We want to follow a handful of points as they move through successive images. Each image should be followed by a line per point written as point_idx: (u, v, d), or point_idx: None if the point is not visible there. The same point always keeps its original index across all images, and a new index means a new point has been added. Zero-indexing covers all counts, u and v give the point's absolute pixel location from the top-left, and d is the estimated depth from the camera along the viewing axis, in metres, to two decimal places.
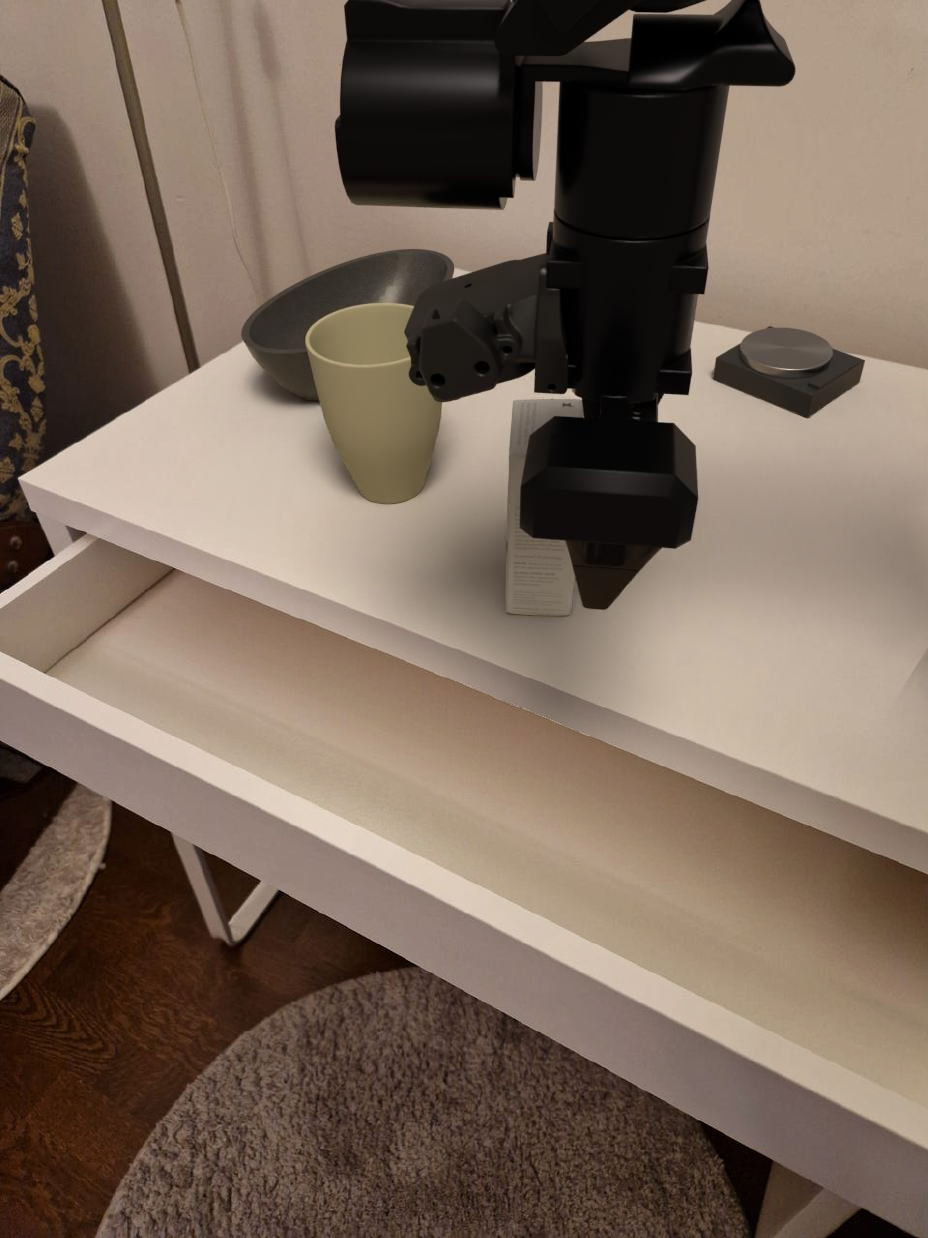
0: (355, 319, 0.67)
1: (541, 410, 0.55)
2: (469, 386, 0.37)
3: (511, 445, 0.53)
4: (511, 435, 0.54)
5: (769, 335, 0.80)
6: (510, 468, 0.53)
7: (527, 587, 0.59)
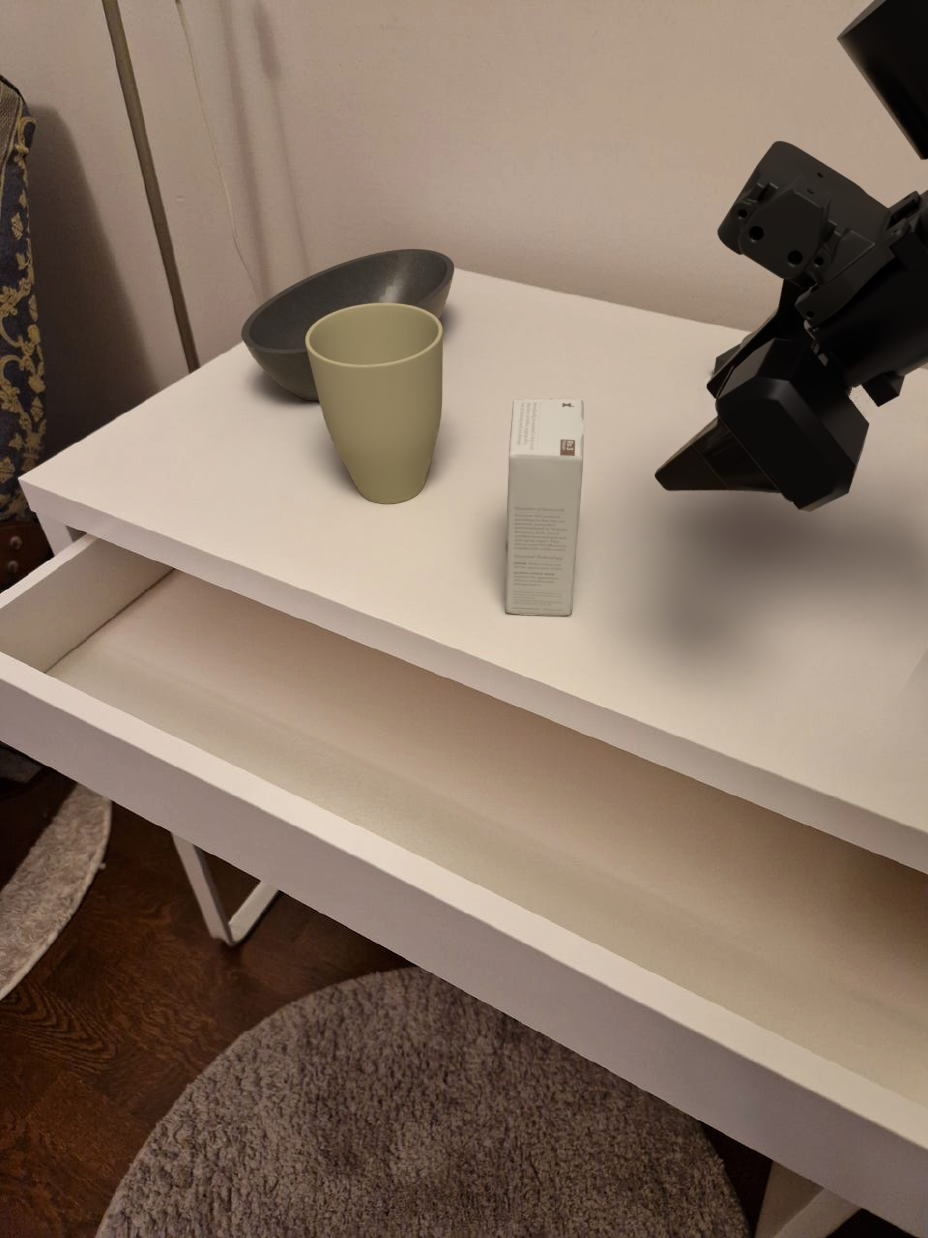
0: (355, 319, 0.67)
1: (541, 410, 0.55)
2: (770, 260, 0.39)
3: (511, 445, 0.53)
4: (511, 435, 0.54)
5: None
6: (510, 468, 0.53)
7: (527, 587, 0.59)
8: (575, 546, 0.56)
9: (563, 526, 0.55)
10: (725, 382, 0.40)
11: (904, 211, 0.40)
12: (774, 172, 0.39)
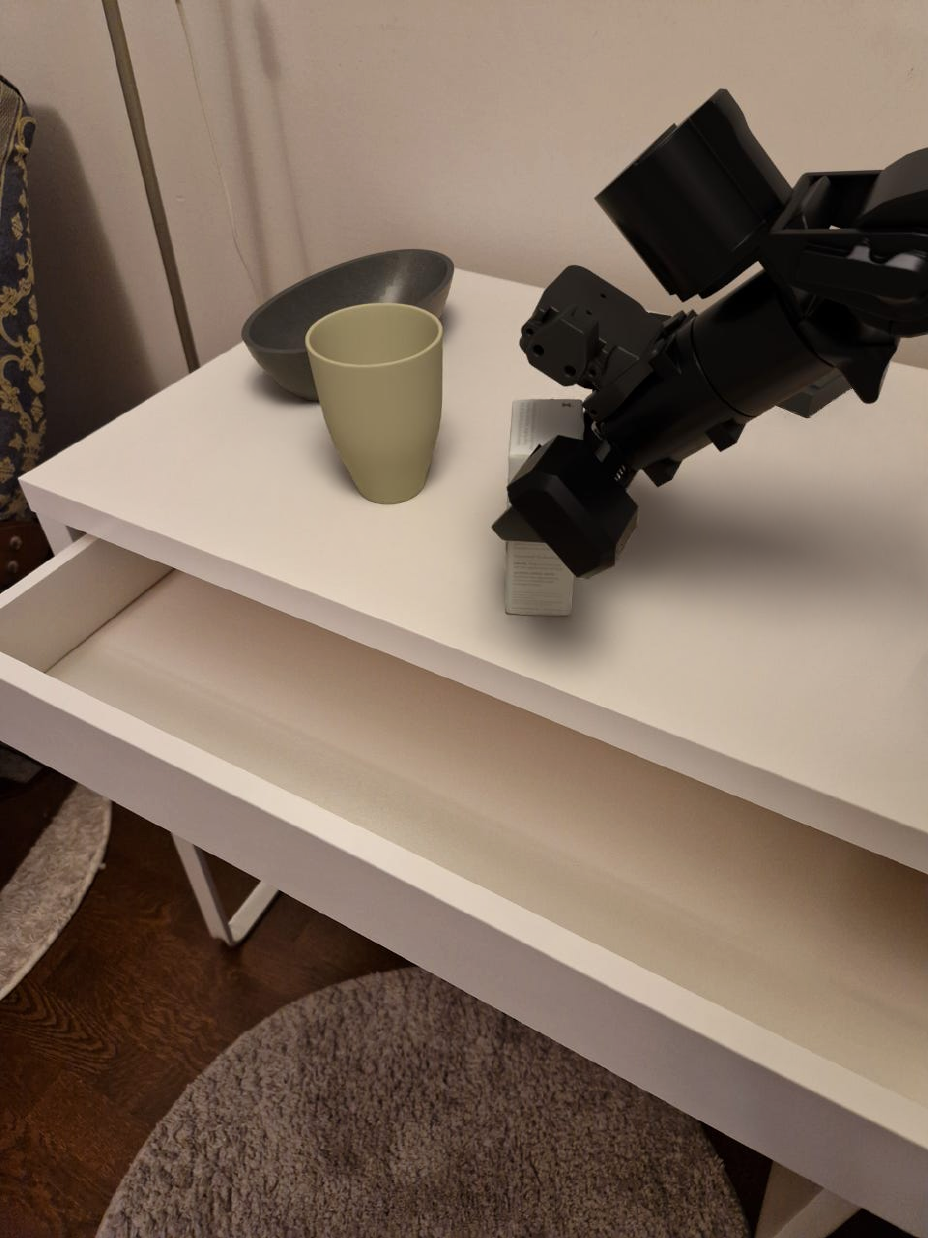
0: (355, 319, 0.67)
1: (541, 410, 0.55)
2: (552, 371, 0.47)
3: (511, 445, 0.53)
4: (511, 435, 0.54)
5: None
6: (510, 468, 0.53)
7: (527, 587, 0.59)
8: None
9: None
10: (528, 459, 0.49)
11: (671, 328, 0.48)
12: (558, 296, 0.47)
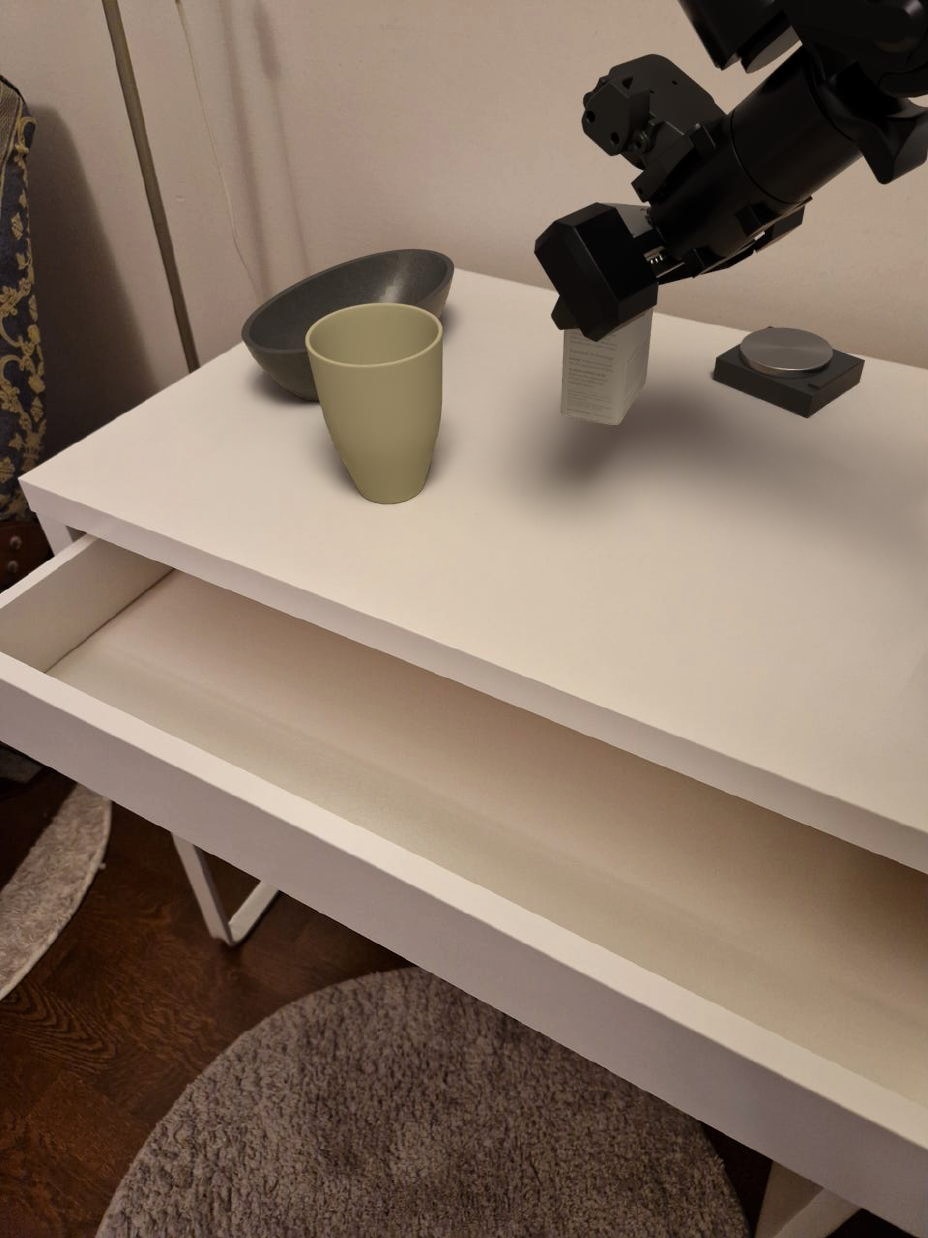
0: (355, 319, 0.67)
1: (618, 210, 0.58)
2: (600, 139, 0.50)
3: None
4: None
5: (769, 335, 0.80)
6: None
7: (580, 387, 0.62)
8: (625, 346, 0.59)
9: None
10: None
11: None
12: (625, 73, 0.50)
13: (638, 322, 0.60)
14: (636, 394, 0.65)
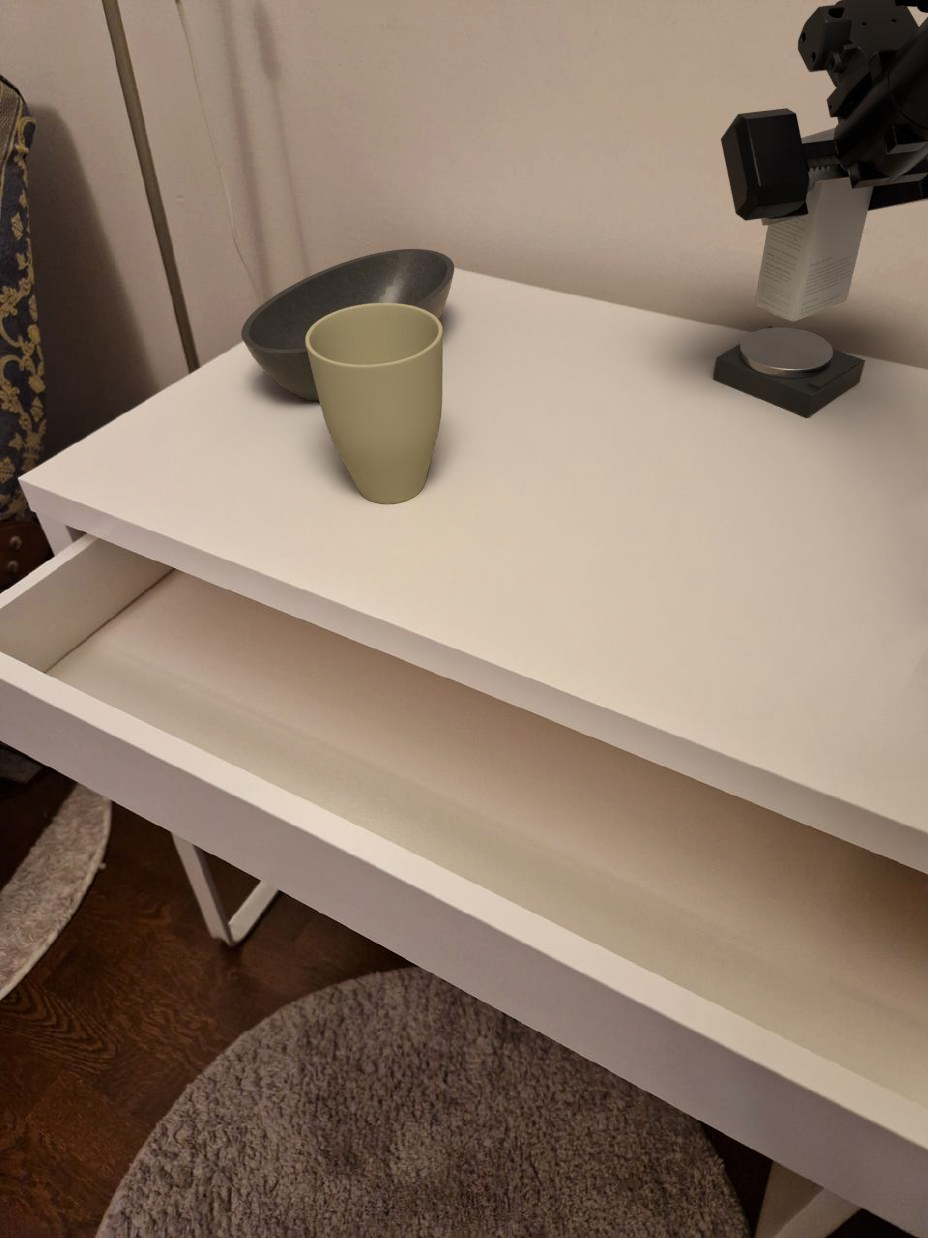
0: (355, 319, 0.67)
1: None
2: (805, 57, 0.61)
3: None
4: None
5: (769, 335, 0.80)
6: None
7: (771, 281, 0.73)
8: (808, 249, 0.69)
9: (803, 225, 0.68)
10: None
11: None
12: (850, 6, 0.60)
13: (831, 233, 0.69)
14: (827, 304, 0.74)
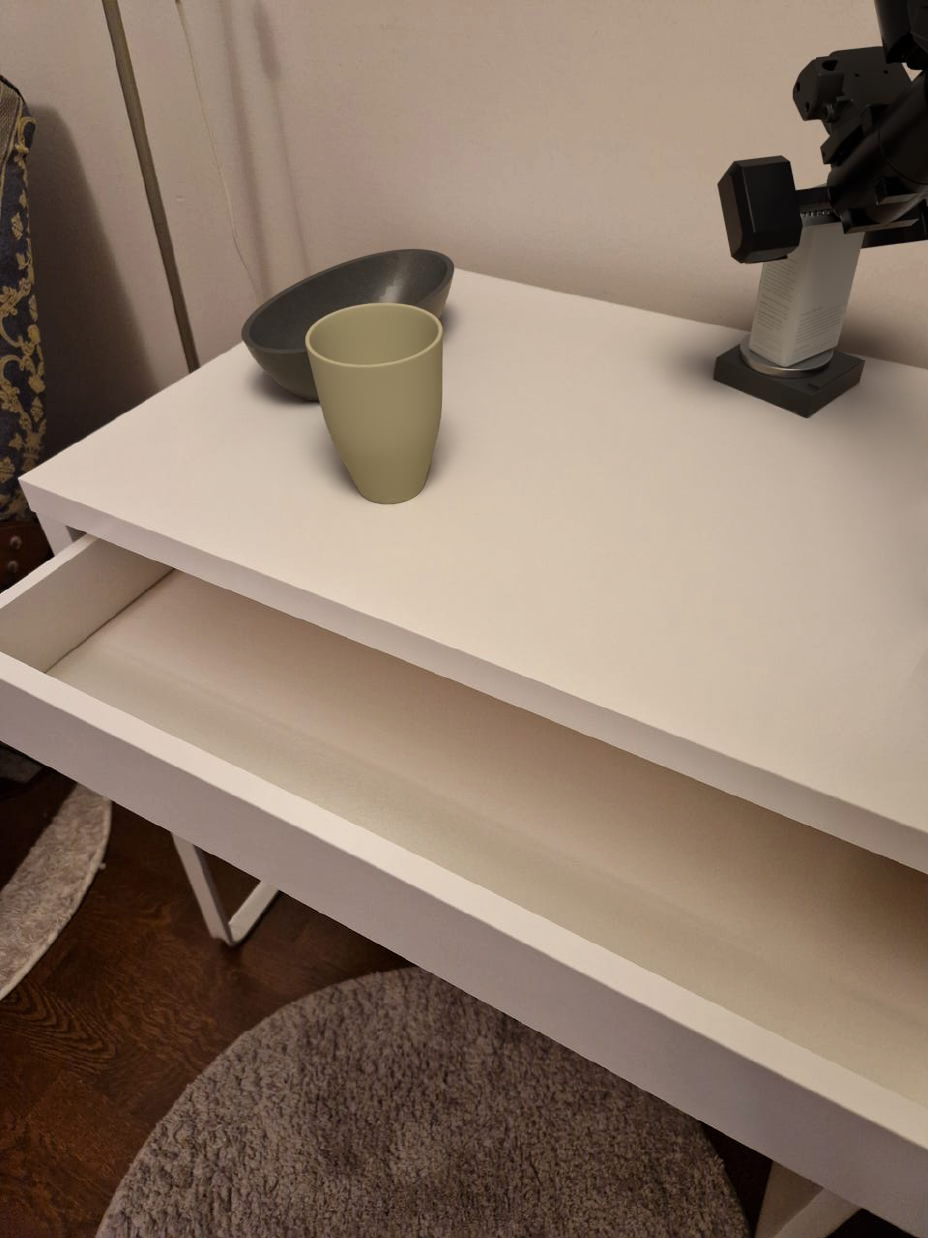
0: (355, 319, 0.67)
1: None
2: (800, 106, 0.63)
3: None
4: None
5: None
6: None
7: (764, 328, 0.76)
8: (798, 300, 0.72)
9: (794, 277, 0.71)
10: None
11: None
12: (843, 57, 0.62)
13: (821, 285, 0.72)
14: (818, 350, 0.76)
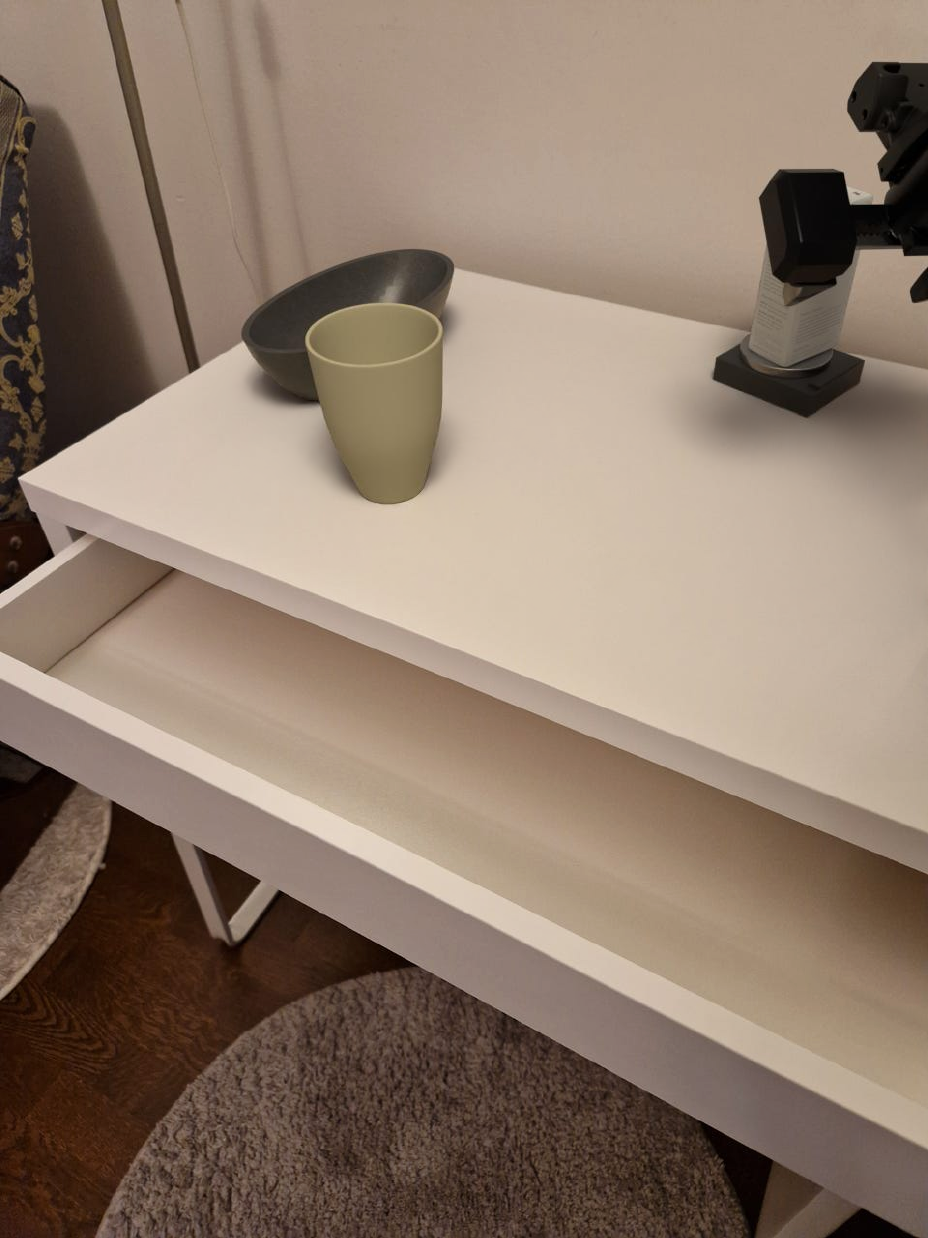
0: (355, 319, 0.67)
1: None
2: (855, 117, 0.56)
3: None
4: None
5: None
6: None
7: (764, 328, 0.76)
8: None
9: None
10: None
11: None
12: (905, 69, 0.56)
13: None
14: (818, 350, 0.76)
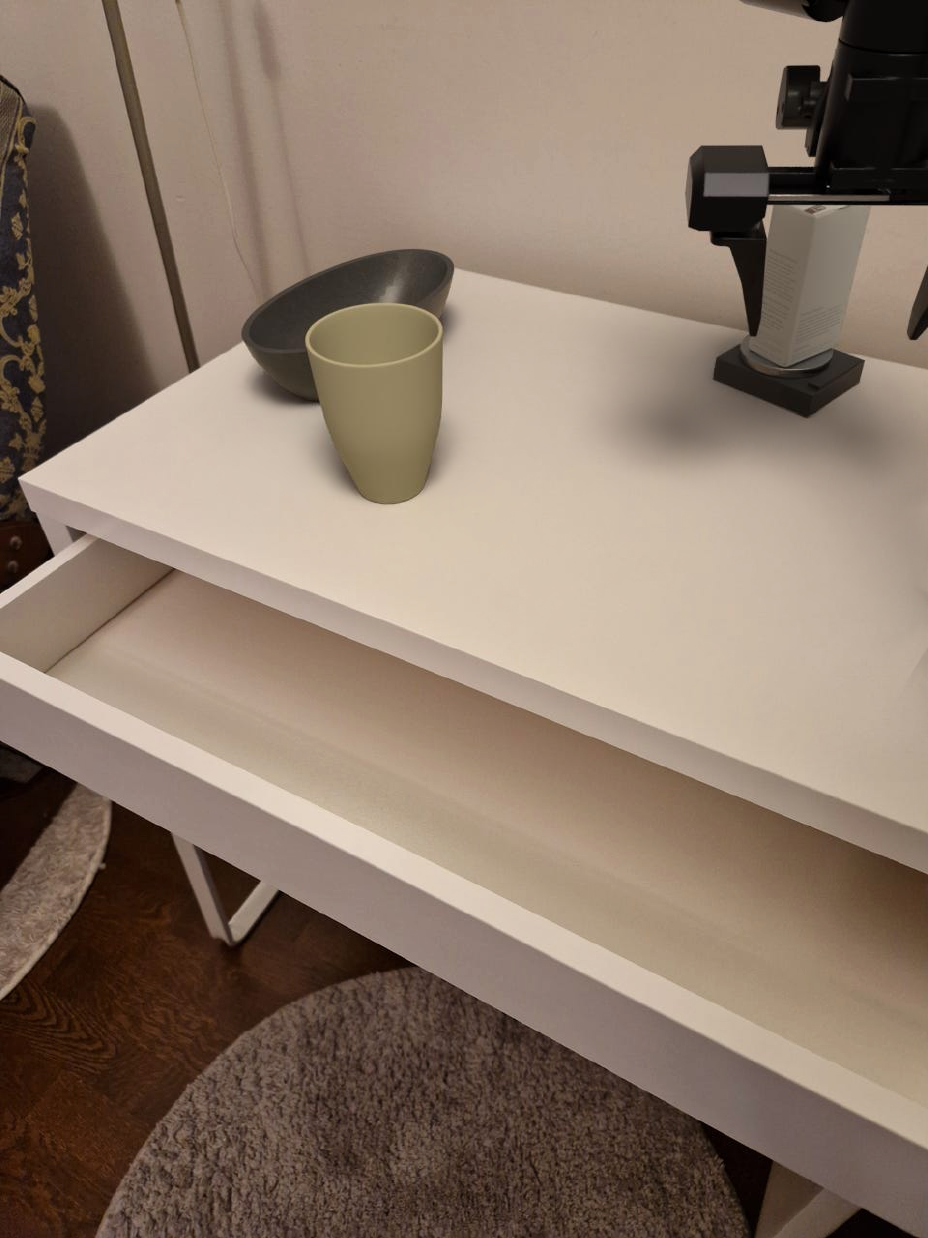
0: (355, 319, 0.67)
1: None
2: (779, 120, 0.56)
3: None
4: None
5: None
6: (772, 211, 0.70)
7: (764, 328, 0.76)
8: (798, 300, 0.72)
9: (794, 277, 0.71)
10: None
11: None
12: None
13: (821, 285, 0.72)
14: (818, 350, 0.76)
